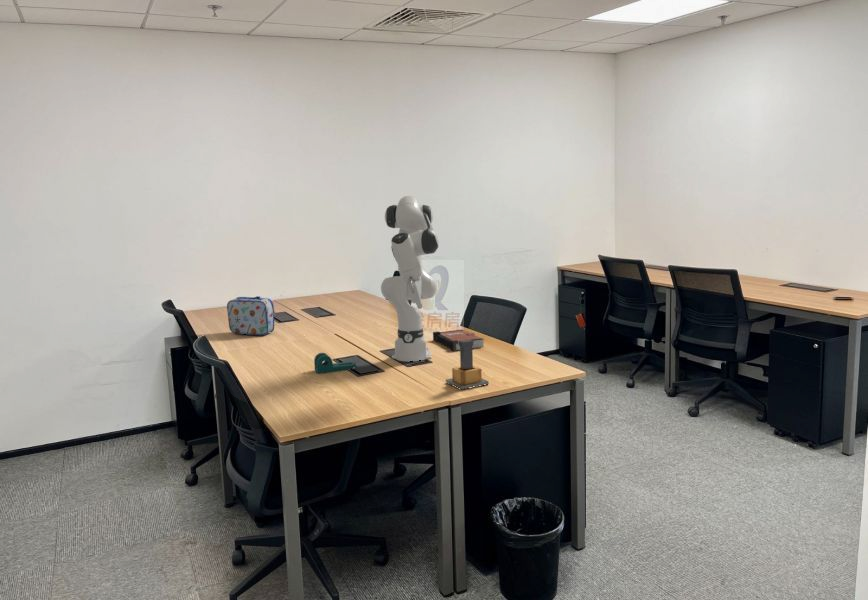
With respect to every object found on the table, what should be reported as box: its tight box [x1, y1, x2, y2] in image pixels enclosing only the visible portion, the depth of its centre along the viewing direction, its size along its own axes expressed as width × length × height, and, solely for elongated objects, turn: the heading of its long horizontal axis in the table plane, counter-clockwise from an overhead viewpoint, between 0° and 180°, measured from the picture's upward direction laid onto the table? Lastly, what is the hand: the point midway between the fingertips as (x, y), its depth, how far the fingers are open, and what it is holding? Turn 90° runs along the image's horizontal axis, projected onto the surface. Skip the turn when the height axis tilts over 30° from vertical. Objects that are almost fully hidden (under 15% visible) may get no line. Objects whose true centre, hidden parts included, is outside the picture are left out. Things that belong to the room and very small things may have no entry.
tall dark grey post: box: [459, 339, 474, 371], centre depth 280 cm, size 5×3×18 cm, turn 118°
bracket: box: [313, 352, 357, 375], centre depth 309 cm, size 18×7×8 cm, turn 111°
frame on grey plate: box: [445, 365, 489, 389], centre depth 281 cm, size 13×12×6 cm
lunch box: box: [226, 295, 277, 336], centre depth 387 cm, size 28×10×22 cm, turn 73°
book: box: [432, 329, 485, 352], centre depth 351 cm, size 26×18×5 cm
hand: (420, 302), depth 282 cm, fingers open, 8 cm apart
